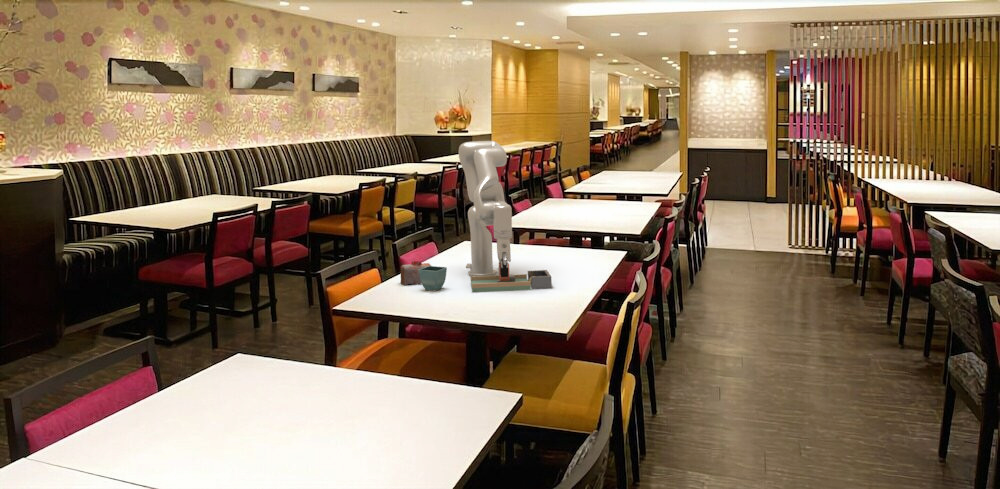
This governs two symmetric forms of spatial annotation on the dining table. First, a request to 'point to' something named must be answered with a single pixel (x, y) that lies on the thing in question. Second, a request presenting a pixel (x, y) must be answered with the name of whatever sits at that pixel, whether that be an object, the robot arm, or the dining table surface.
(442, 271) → the flower pot
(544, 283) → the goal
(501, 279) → the silver-capped pink block
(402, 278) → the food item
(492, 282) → the pitch
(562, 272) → the dining table surface
